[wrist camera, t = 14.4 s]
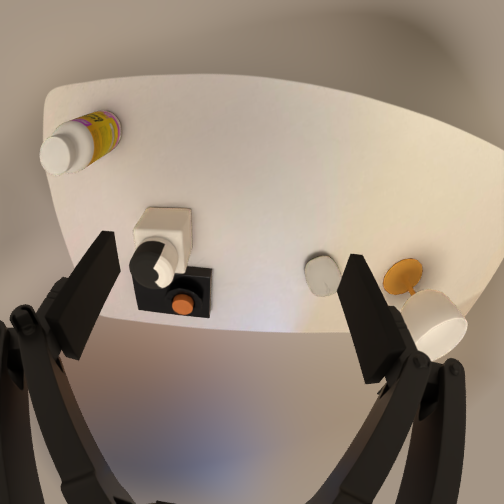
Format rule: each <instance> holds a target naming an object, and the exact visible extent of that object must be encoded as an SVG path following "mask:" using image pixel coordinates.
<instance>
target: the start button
mask: <svg viewBox="0 0 504 504" xmlns="http://www.w3.org/2000/svg"><path fill="white" fill-rule="evenodd" d="M193 305H194V301H193V299H192V298H191V297H190V296H188V295H184V294H178V295H176V296H175V297H174V300H173V303H172V308H173V310H174V311H175V312H177V313H178V314H182V315H187V314H189V313H191V312H192V310H193Z"/></svg>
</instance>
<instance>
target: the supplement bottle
mask: <svg viewBox="0 0 504 504" xmlns="http://www.w3.org/2000/svg"><path fill="white" fill-rule="evenodd" d="M120 138H121V125H120V122H119V120H118V119H117V117H116V116H115V115H114V114H112V113H111V112H108V111H97V112H93V113H90V114H87V115H84V116H82V117H79V118H76V119H73V120H70V121H68V122H65V123H63V124H61V125H60V126H59V127H57V128H56V130H55V131H54V132H53V134H52V136H51V137H49V138H47V139H46V140H45V141H44V142H43V144H42V146H41V150H40V160H41V164H42V166H43V168H44V169H45V170H46V172H48V173H49V174H51V175H54V176H59V175H62V174H63V173H77V172H80V171H81V170H83V169H85V168H86V167H87V166H89V165H90V164H92V163H93V162H95V161H96V160H98V159H99V158H101V157H102V156H104V155H106V154H107V153H109V152H110V151H112V150H113V149H114V148H115V147H116V146H117V144H118V143H119V141H120Z"/></svg>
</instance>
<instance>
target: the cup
mask: <svg viewBox="0 0 504 504" xmlns="http://www.w3.org/2000/svg"><path fill="white" fill-rule="evenodd" d="M422 272H423V270H422V265H421V264H420V263H419V261H418V260H415V259H405V260H402V261H400V262H398V263H396V264H395V265H394V266H392V267H391V268H390V269H389V270H388V272H387V274H386V275H385V277H384V282H383V285H384V288H385V290H386V291H387V292H388V293H389V294H394V295H398V294H403V293H405V292H407V291H409V293H410V295H411V297H410V298H409V299H408V300H407V301H406V303H405V304H404V306H403V307H402V310H401V315H402V317H403V319H404V322H405V323H406V325H407V329H409V332H410V334H411V336H412V338H413V340H414V343H415V345H416V347H417V349H418V351H421V352H424V353H425V354H426V355H428V357H429V358H430V360H431V361H434V360H436V359H438V358H440V357H442V356H444V355H445V354H446V353H448V352H449V351H450V350H452V349H453V348H454V347H455V346H456V345H457V344H458V343H459V342H460V341H461V340H462V338H463V336H464V335H465V333H466V331H467V323H468V322H467V321H466V319H465V317H464V316H463V315H462V313H461V312H460V310H459V309H458V308H457V307H456V305H455V304H454V303H453V302H452V301H451V300H450V299H449V297H448V296H446V295H445V294H444V293H442V292H440V291H436V290H432V289H427V290H422V291H419V292H417V293H416V292H415V291H414V289H413V287H414V286H415V285H416V284H417V283H418V281H419V280H420V278H421V275H422Z"/></svg>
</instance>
